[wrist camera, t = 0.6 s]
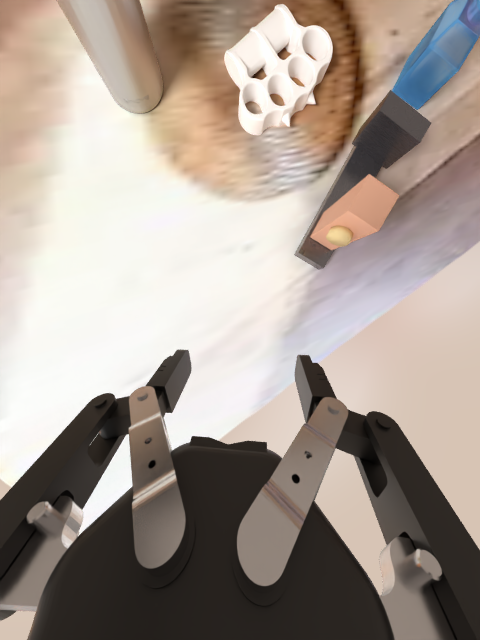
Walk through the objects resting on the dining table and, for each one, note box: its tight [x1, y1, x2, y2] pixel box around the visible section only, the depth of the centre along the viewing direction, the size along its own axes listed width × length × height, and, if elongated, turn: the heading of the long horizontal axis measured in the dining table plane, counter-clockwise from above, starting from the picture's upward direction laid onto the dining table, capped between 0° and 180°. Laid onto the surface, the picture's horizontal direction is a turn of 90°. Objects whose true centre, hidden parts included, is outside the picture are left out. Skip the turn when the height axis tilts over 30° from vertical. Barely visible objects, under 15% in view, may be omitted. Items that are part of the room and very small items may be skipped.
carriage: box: [310, 174, 399, 250], centre depth 29 cm, size 6×5×11 cm
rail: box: [294, 90, 431, 269], centre depth 32 cm, size 24×8×8 cm, turn 152°
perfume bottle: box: [392, 0, 480, 110], centre depth 28 cm, size 6×6×12 cm
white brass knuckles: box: [224, 4, 333, 135], centre depth 31 cm, size 3×18×15 cm
